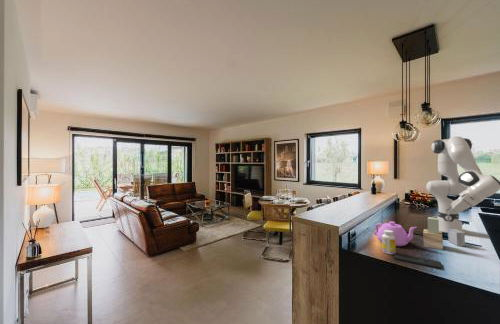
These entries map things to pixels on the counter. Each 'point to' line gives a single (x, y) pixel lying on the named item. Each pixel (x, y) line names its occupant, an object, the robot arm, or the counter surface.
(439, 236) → the tower top block
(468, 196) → the robot arm
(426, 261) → the smart home device
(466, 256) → the counter surface
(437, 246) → the tower base block
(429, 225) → the sage block
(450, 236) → the medicine box
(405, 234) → the teapot
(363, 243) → the counter surface
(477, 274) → the counter surface
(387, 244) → the supplement bottle
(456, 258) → the counter surface
